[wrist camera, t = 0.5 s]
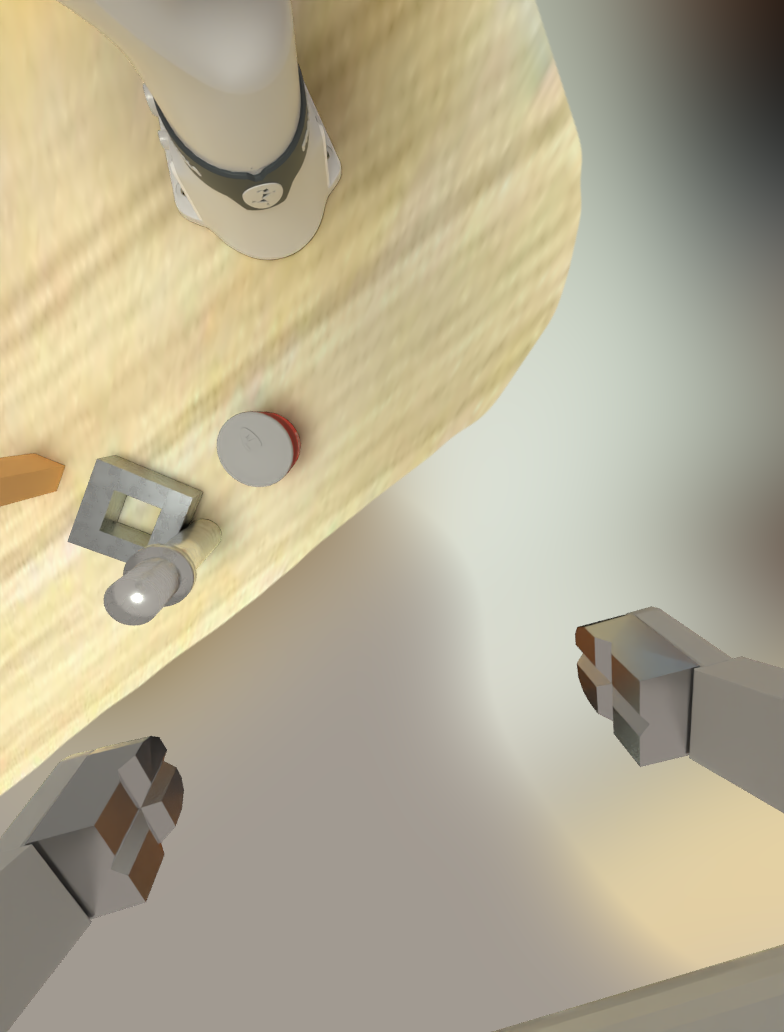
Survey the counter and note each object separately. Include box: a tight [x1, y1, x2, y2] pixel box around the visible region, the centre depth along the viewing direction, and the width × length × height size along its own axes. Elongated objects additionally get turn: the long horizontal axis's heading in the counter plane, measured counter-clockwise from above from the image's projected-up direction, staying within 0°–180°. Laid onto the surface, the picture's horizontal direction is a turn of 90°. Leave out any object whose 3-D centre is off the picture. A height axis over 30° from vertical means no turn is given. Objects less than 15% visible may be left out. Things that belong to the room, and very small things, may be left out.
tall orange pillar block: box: [0, 453, 65, 506], centre depth 43 cm, size 4×4×12 cm
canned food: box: [217, 411, 300, 487], centre depth 46 cm, size 8×8×11 cm
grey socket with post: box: [68, 455, 222, 625], centre depth 42 cm, size 16×11×20 cm
